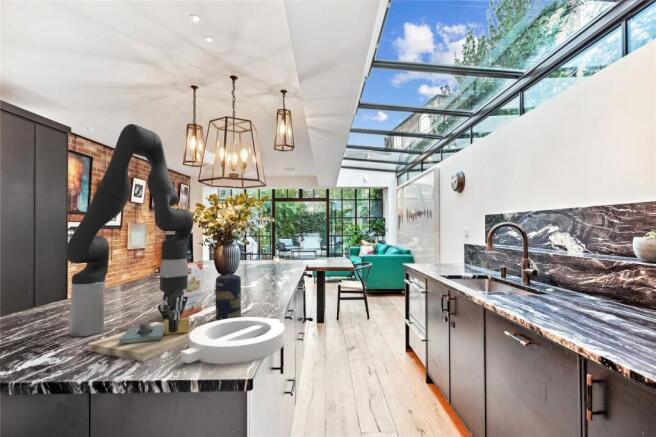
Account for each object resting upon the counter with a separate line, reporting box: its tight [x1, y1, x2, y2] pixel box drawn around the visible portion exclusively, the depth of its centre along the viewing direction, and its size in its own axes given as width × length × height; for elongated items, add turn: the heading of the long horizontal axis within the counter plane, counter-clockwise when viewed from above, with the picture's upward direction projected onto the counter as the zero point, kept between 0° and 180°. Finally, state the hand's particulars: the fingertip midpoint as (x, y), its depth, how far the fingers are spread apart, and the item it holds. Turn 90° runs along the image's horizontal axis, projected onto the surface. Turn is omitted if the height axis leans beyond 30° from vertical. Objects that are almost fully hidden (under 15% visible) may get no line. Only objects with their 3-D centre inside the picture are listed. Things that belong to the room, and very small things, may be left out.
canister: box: [215, 273, 242, 321], centre depth 122 cm, size 10×10×18 cm
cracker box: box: [180, 262, 204, 318], centre depth 130 cm, size 14×6×21 cm, turn 168°
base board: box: [87, 321, 198, 362], centre depth 97 cm, size 22×23×6 cm
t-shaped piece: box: [119, 316, 190, 344], centre depth 97 cm, size 18×11×4 cm, turn 110°
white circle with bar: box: [180, 316, 286, 365], centre depth 95 cm, size 28×28×5 cm
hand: (173, 331), depth 93 cm, fingers closed
